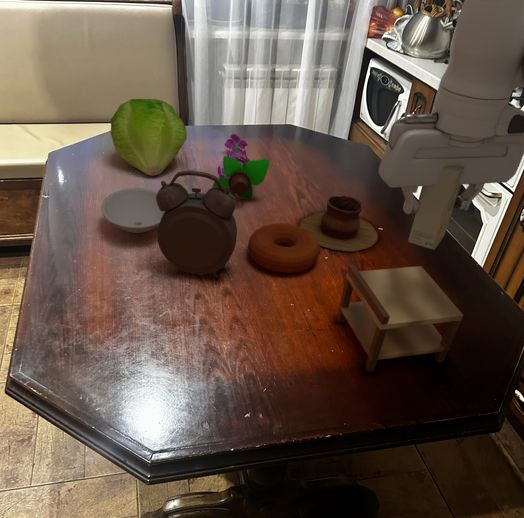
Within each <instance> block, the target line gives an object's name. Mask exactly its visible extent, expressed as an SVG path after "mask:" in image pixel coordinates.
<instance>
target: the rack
mask: <svg viewBox="0 0 524 518" xmlns="http://www.w3.org/2000/svg"><path fill="white" fill-rule="evenodd" d="M353 290H354V292H355V294H356V295H357V297H358V298H359V300H360V301H355V302H351V299H352V294H353ZM339 302H340V303H339V305H338V306H339V307H338V311H337V315H336V320H337V322H338V323H339V324H340V323H345V322H347V323H348V325H349V326H350V328H351V330H352V331H353V333H354V335H355V336H356V338H357V340H358V341H359V343H360V345H361V347H362V348H363V350H364V352H365V354H366V355H367V359H366V361H365V365H364V369H365V371H366V372H367V373H373V372H375V369H376V367H377V364H378V361H380V360H381V361H382V360H388V359H394V358H403V357H409V356H417V355H418V356H419V355H425V354H432V353H435V354H434V356H433V357H434V358H433V359H434V360H435V362H436V363H444V362H445V359H446V357H447V355H448V353H449V351H450V347H451V345H452V343H453V342H454V341H453V340H454V338H455V336H456V333H457V332H458V329H459V327H460V325H461V323H462V320H463V318H464V314H463V313H462V312H461V310H460V309H459V308H458V307H457V306H456V305H455V303H454V302H453V301H452V300H451V299H450V298H449V297H448V295H447V294H446V293H445V292H444V291H443V289H442V288H441V287H440V286H439V285H438V284H437V283H436V281H435V280H434V279H433V278H432V277H431V275H430V274H429V273H428V272H427V271H426V270H425V269H424V267H423V266H422V265H417V266H405V267H395V268H394V267H393V268H384V269H383V268H382V269H371V270H361V271H360V270H359V269H358V268H357V266H356V265H355V264H348V266H347V271H346V274H345V280H344V285H343V289H342V292H341V298H340V301H339ZM443 323H448V324H447V326H446V328H445V330H444V334H443V336H442V335H441V333H440V332H439V331H438V330H437V328H436V327H435V325H434V324H443Z"/></svg>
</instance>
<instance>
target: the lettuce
mask: <svg viewBox="0 0 524 518" xmlns="http://www.w3.org/2000/svg"><path fill="white" fill-rule="evenodd" d="M110 135H111V139H112V142H113V145H114V146H113V147H114V150H115V151H116V153H117V154H118V156H119V157H120V158H121V160H123V161H124V162H125V163H127V164H128V165H130V166H131V167H133V168H136V169H137V170H139V171H140V172H142V173H144V174H145V175H147V176H151V177H155V176H157V175H160V174H161V173H163V172H164V171H165V169H166V168H167V167H168V166H169V165H170V164H171V162H172V161H173V160H174V159H175V157H176V156H177V155H178V154H179V152H180V150H181V148H182V147H183V145H184V144H185V143H186V141H187V138H188V137H187V135H188V133H187V128H186V125H185V123H184V122H183V119H182V118H181V117H180V116H179V115H178V114H177V112H176V111H175V109H174V108H173V106H172V104H171V105H170V104H169V103H168V102H167V101H164V100H160V99H157V98H131V99H129V100H127V101H125V102H123V103H121V104H120V105H119V106H118V108H117V109H116V111H115V113H114V114H113V115H112V117H111V119H110Z"/></svg>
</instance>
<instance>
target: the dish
mask: <svg viewBox="0 0 524 518" xmlns="http://www.w3.org/2000/svg"><path fill="white" fill-rule="evenodd" d="M157 193H158V191H156V190H152V189H149V188H143V187H130V188H124V189H123V188H122V189H119V190H116V191H114V192H112V193H111V194H109V195H108V196H106V198H104V199H103V201H102V203H101V205H100V211H101V213H102V215H103V217H104V219H106V220H107V222H110V223H111V224H113V225H115V226H116V227H118V228H119V229H121V230H123V231H126V232H129V233H137V234H139V233H146V232H150V231H152V230H154V229H156V228H158V226H159V224H160V221H161V218H162V216H163V214H164V212H165V211H160V209H159V207H158V204H157V201H156V196H157Z"/></svg>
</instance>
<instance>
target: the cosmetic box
mask: <svg viewBox="0 0 524 518" xmlns="http://www.w3.org/2000/svg"><path fill="white" fill-rule="evenodd" d="M463 170H464V167H444V168H442V171H441V174H440V177H439V180H438V182H437V184H436V185H435V186H422V190H421V194H420V197H419V201H418V202H419V203H420V205H419V208H418V209H417V210H418V211H417V213H415V214H414V215H415V216H414V218H413V221H412V226H411V229H410V233H409V236H408V239H407V243H411V244H414V245H417V246H420V247H423V248H426V249H429V250H436V248H437V247H438V246H439V244H440V243H441V241H442V240H443V238H444V237H445V235H446V232H447V229H448V226H449V223H450V220H451V218H452V214H453V211H454V209H455V208H454V205H455V202H456V199H457V196H459V193H460V190H461V187H462V184H460V185H459V182H460V179H461V176H462V173H463Z"/></svg>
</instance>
